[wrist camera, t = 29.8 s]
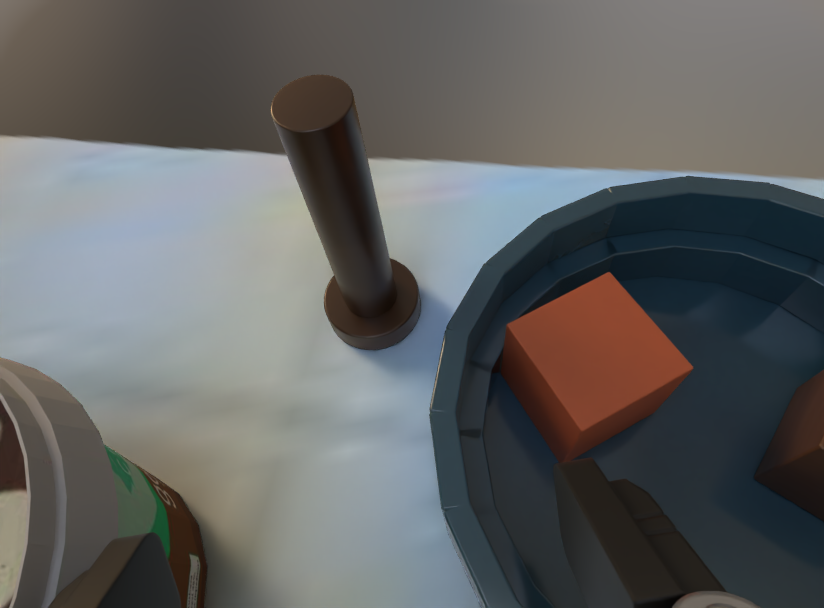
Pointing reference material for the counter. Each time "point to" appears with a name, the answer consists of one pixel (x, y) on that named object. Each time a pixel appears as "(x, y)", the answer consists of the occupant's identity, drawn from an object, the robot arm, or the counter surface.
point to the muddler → (345, 213)
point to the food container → (75, 497)
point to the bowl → (676, 417)
